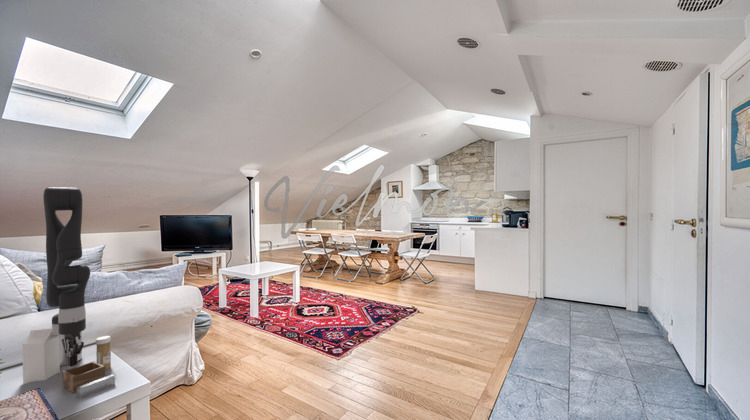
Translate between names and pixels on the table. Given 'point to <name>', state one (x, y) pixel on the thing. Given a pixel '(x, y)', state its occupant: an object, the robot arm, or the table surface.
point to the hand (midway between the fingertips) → (73, 365)
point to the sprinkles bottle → (104, 351)
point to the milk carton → (40, 355)
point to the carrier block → (82, 375)
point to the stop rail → (95, 386)
